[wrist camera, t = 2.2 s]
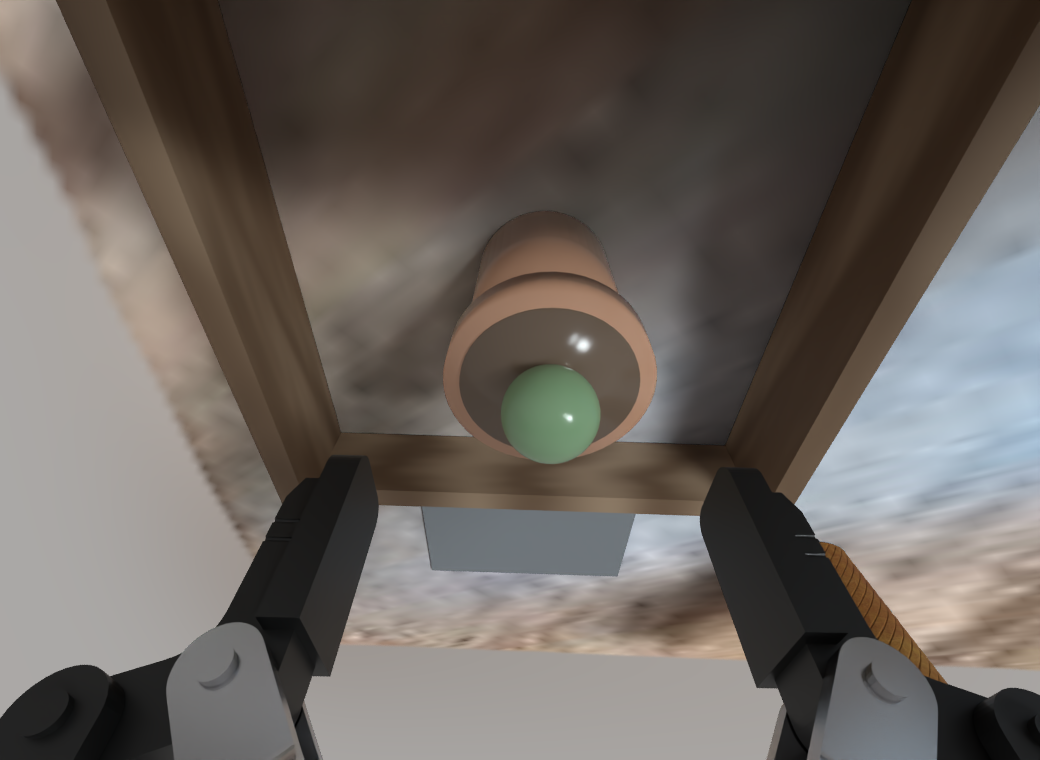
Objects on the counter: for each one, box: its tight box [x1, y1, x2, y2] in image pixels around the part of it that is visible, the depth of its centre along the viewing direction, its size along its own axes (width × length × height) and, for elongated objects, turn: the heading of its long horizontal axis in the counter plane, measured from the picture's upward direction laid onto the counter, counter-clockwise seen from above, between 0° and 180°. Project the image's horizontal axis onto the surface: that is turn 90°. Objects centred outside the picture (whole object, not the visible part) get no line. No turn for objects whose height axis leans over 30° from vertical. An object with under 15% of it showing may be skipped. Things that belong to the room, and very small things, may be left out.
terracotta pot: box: [443, 211, 657, 464], centre depth 16 cm, size 6×6×11 cm
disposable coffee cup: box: [820, 542, 947, 684], centre depth 29 cm, size 10×10×12 cm
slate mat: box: [422, 506, 635, 576], centre depth 31 cm, size 14×12×1 cm
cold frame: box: [56, 0, 1040, 516], centre depth 16 cm, size 24×23×11 cm
